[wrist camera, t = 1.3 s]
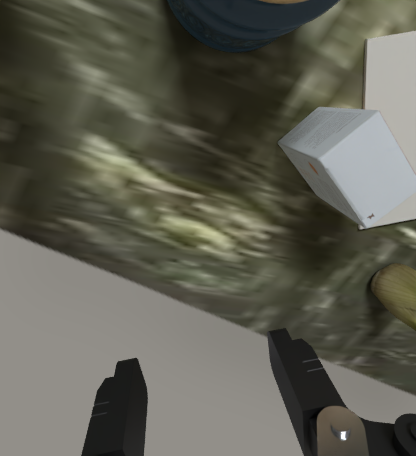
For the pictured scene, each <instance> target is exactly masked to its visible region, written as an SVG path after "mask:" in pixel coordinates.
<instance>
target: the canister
mask: <svg viewBox="0 0 416 456" xmlns="http://www.w3.org/2000/svg"><path fill="white" fill-rule="evenodd" d="M339 1H340V0H167V2H168V4H169V6H170V8H171V10H172V12H173V13H174V15H175V17H176V18H177V20H178V21H179V22H180V24H181V25H182V26H183V27H184V28H185V29H186V30H187V31H188V32H189V33H190V34H191V35H192V36H193V37H194V38H196V39H197V40H198V41H200V42H201V43H203V44H205V45H207V46H209V47H211V48H214V49H216V50H220V51H224V52H232V53H239V52H247V51H252V50H255V49H258V48H261V47H263V46H265V45H267V44H269V43H271V42H273V41H274V40H276V39H277V38H279V37H280V36H282V35H285V34H287V33H289V32H291V31H293V30H295V29H297V28H298V27H300V26H301V25H303V24H305V23H307V22H310V21H312V20H314V19H315V18H317V17H319V16H321V15H322V14H324V13H325V12H326V11H328V10H329V9H330V8H332V7H333V6H334V5H335V4H337V3H338V2H339Z"/></svg>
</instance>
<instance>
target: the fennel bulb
mask: <svg viewBox="0 0 416 456" xmlns="http://www.w3.org/2000/svg"><path fill="white" fill-rule="evenodd" d="M371 291H372V293H373V294H375V295H376V296H377V298H378V300H379V301H380V302H381V303H382V304H383V305H384V306H385V307H386V308H387V309H388V310H389V311H390V312H391V313H392V314H393V315H394V316H395V317H396V318H398V319H399V320H400V321H402V322H403V323H405V324H407V325H408V326H410V327H411V328H412V329H414V330H415V331H416V271H415V270H414V269H412V268H410V267H408V266H406V265H403V264H398V263H393V264H390V265H388V266H387V267H385V268H383V269H381V270H379V271H378V272H376V273H375V275H374V276H373V278H372V281H371Z"/></svg>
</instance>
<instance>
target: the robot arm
mask: <svg viewBox="0 0 416 456" xmlns="http://www.w3.org/2000/svg"><path fill="white" fill-rule="evenodd" d="M267 336H268V345H269V354H270V362H271V367H272V371H273V374H274V377H275V380H276V382H277V385H278V387H279V390H280V393H281V396H282V398H283V401H284V404H285V406H286V409H287V412H288V414H289V417H290V419H291V422H292V425H293V428H294V430H295V433H296V436H297V438H298V441H299V444H300V446H301V449H302V451H303V454H304V456H416V414H404V415H401V416H400V417H399V418H397V420H396V421H395V424H390V423H380V422H373V421H368V420H365V419H363V418H360V417H359V416H357V415H356V414H355V413H354V412H352V411H351V410H349V409H348V408H347V407H346V405H345V404H344V402H343V401H342V399H341V397H340V395H339V394H338V392H337V390H336V388H335V387H334V385H333V383H332V381H331V380H330V378H329V376H328V374H327V373H326V371H325V370H324V368H323V366H322V364H321V362H320V360H319V359H318V357H317V355H316V353H315V351H314V350H313V348H312V347H311V346H310V345H309V344H308V343H307V342H305V341H304V340H303V339H302V338H301V339H296V340H292V339H291V337H290V335H289V333H288V331H287V330H286V328H282V329H277V330H272V331H268V332H267ZM147 396H148V395H147V387H146V383H145V380H144V377H143V374H142V371H141V368H140V365H139V361H138V359H137V358H133V359H128V360H123V361H118V362H117V365H116V369H115V375H114V377H109V378H105V380H104V381H103V383H102V385H101V386H100V388H99V389H98V390H97V394H96V399H95V402H94V407H93V410H92V417H91V419H90V423H89V427H88V431H87V435H86V439H85V443H84V447H83V451H82V455H81V456H144V444H145V431H146V417H147V403H148V397H147Z"/></svg>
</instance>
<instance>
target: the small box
mask: <svg viewBox="0 0 416 456" xmlns="http://www.w3.org/2000/svg"><path fill="white" fill-rule="evenodd" d="M278 145H279V146H280V147H281V148H282V150H283V151H284V152H285V154H286V155H287V156H288V158H289V159H290V160H291V162H292V163H293V164H294V166H295V167H296V168H297V170H298V171H299V172H300V174H301V175H302V177H303V178H304V179H305V180H306V182H307V183H308V184H309V186H310V187H311V189H312V190H313V191H314V193H315V194H316V195H317V196H318V197H320V198H321V199H323V200H324V201H325V202H327V203H328V204H330V205H331V206H333V207H334V208H336V209H337V210H339V211H340V212H342V213H343V214H345V215H346V216H348V217H349V218H351V219H352V220H354V221H355V222H356V223H358V224H359V225H361V226H362V227H364V228H365V229H367V228H369V227H370V226H371V225H373V224H374V223H375V222H377V221H378V220H379V219H381V218H382V217H383V216H385V215H386V214H387V213H389V212H390V211H391V210H393V209H394V208H396V207H397V206H398V205H399V204H401V203H402V202H404V201H405V200H406V199H408V198H409V197H410V196H412V195H413V194H414V193H415V192H416V174H415V172H414V170H413V168H412V167H411V165H410V163H409V161H408V160H407V158H406V156H405V155H404V153H403V151H402V149H401V148H400V146H399V144H398V142H397V141H396V139H395V137H394V135H393V134H392V132H391V130H390V128H389V127H388V125H387V123H386V121H385V120H384V118H383V116H382V114H381V112H380V111H379V110H365V109H347V108H329V107H318V108H317V109H316V110H314V111H313V112H312V113H311V114H310V115H308V116H307V117H306V118H305V119H304V120H303V121H301V122H300V123H299V124H298V125H297V126H295V127H294V128H293V129H292V130H291V131H290V132H288V133H287V134H286V135H285V136H284V137H283V138H282V139H280V140H279V141H278Z"/></svg>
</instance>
